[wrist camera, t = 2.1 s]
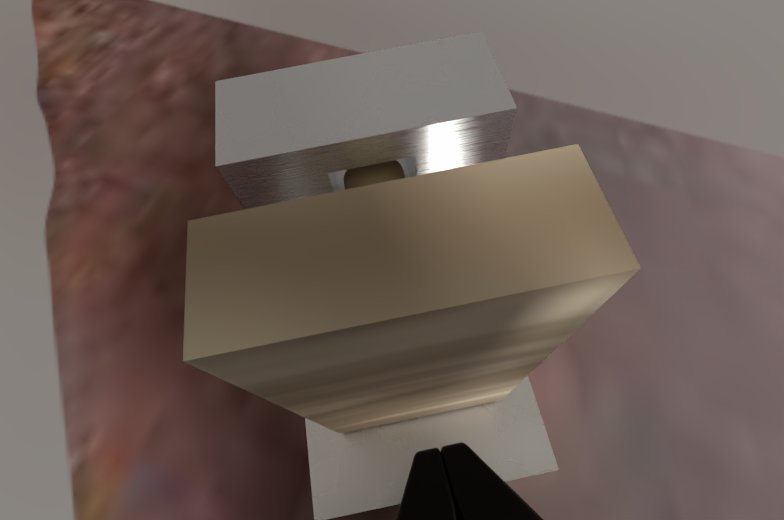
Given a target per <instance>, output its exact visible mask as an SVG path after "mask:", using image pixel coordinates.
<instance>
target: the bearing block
mask: <svg viewBox="0 0 784 520" xmlns="http://www.w3.org/2000/svg"><path fill="white" fill-rule="evenodd" d="M516 110H517V107H516V105H515V103H514V100H513V98H512V96H511V94H510V91H509V89H508V87H507V85H506V82H505V80H504V78H503V75H502V73H501V71H500V69H499V66H498V64H497V62H496V60H495V57H494V55H493V53H492V51H491V49H490V46H489V44H488V42H487V40H486V37H485V35H484V33H483V31H480V32H474V33H469V34H464V35H458V36H453V37H448V38H442V39H437V40H432V41H427V42H421V43H416V44H411V45H406V46H400V47H395V48H390V49H384V50H379V51H374V52H368V53H363V54H358V55H352V56H347V57H342V58H337V59H331V60H326V61H321V62H315V63H310V64H305V65H300V66H294V67H289V68H284V69H278V70H273V71H268V72H262V73H257V74H252V75H247V76H241V77H236V78H231V79H225V80H220V81H215V167H216V168H217V169H218V171H219V172H220V174H221V175H222V177H223V178H224V180H225V181H226V183H227V184H228V186H229V187H230V188H231V190H232V191H233V193H234V194H235V196H236V197H237V199H238V200H239V202H240V203H241V205H242V206H243V208H244V209H250V208H255V207H260V206H265V205H270V204H275V203H280V202H285V201H290V200H295V199H301V198H306V197H311V196H316V195H321V194H326V193H331V192H336V191H341V190H345V187H344V181H343V179H344V174H345V172H346V171H347V169H353V168H358V167H363V166H368V165H373V164H378V163H383V162H388V161H394V160H396V161H398V162H399V163H400V164H401V166H402V168H403V171H404V175H405V178H408V177H413V176H418V175H423V174H428V173H433V172H438V171H443V170H448V169H453V168H459V167H464V166H469V165H474V164H479V163H484V162H489V161H494V160H499V159H504V157H505V153H506V149H507V145H508V142H509V138H510V134H511V130H512V126H513V122H514V118H515V114H516ZM305 423H306V434H307V446H308V457H309V468H310V479H311V490H312V501H313V512H314V520H327V519H332V518H336V517H341V516H346V515H350V514H355V513H360V512H364V511H369V510H374V509H378V508H383V507H388V506H392V505H397V504H401V500H402V497H403V493H404V490H405V486H406V483H407V479H408V476H409V472H410V469H411V465H412V462H413V458H414V456H415V454H416V453H417V452H418V451H422V450H427V449H432V448H438V449H439V450H440V452H441V448H442V447H443V446H446V445H451V444H455V443H460V442H463V443H465V444H466V445H468V446H469V447H470V448H471V449H472V450H473V451H474V452H475V453H476V454H477V455H478V456H479V457H480V458H481V459H482V460H483V461H484V462H485V463H486V464H487V465H488V466H489V467H490V468H491V469H492V470H493V471H494V472H495V473H496V474H497V475H498V476H499V477H500V478H501V479H502V480H503V481H504V482H505V481H509V480H514V479H519V478H523V477H528V476H533V475H537V474H542V473H547V472H551V471H556V470H559V469H558V466H557V463H556V460H555V457H554V454H553V451H552V448H551V444H550V441H549V438H548V435H547V432H546V429H545V426H544V423H543V420H542V417H541V414H540V411H539V408H538V405H537V402H536V399H535V396H534V393H533V390H532V387H531V384H530V381H529V378H528V376H527V377H525V378H524V379H523V380H522V381H521V382H520V383H519V384H518V385H517V386H516V387H515V388H514V389H513V390H512V391H511V392H510V393H509V394H508V395H506V396H505V397H504V398H503V399H502V400H498V401H493V402H488V403H483V404H479V405H474V406H469V407H464V408H460V409H455V410H450V411H445V412H440V413H436V414H431V415H426V416H421V417H417V418H412V419H407V420H402V421H397V422H393V423H388V424H383V425H378V426H374V427H369V428H364V429H359V430H354V431H350V432H345V433H340V434H339V433H337V432H335V431H333V430H331V429H328V428H326V427H324V426H322V425H320V424H318V423H315V422H313V421H311V420H309V419H307V418H305Z"/></svg>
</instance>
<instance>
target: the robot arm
mask: <svg viewBox="0 0 784 520" xmlns="http://www.w3.org/2000/svg"><path fill="white" fill-rule="evenodd" d="M396 520H543V519H542V518H541V517H540V516H539V515H538V514H537V513H536V512H535V511H534V510H533V509H532V508H531V507H530V506H529V505H528V504H527V503H526V502H525V501H524V500H523V499H522V498H521V497H520V496H519V495H518V494H517V493H516V492H515V491H514V490H513V489H512V488H511V487H510V486H509V485H507V484H506V483H505V482H504V481H503V480H502V479H501V478H500V477H499V476H498V475H497V474H496V473H495V472H494V471H493V470H492V469H491V468H490V467H489V466H488V465H487V464H486V463H485V462H484V461H483V460H482V459H481V458H480V457H479V456H478V455H477V454H476V453H475V452H474V451H473V450H472V449H471V448H470V447H469V446H468V445H466V444H465V443H463V442H460V443H455V444H451V445H446V446H443V447H442V448H441V452H440V450H439V449H438V448H432V449H427V450H422V451H418V452H417V453H416V454H415V456H414V458H413V462H412V465H411V469H410V472H409V476H408V479H407V483H406V486H405V490H404V493H403V497H402V500H401V504H400V507H399V511H398V514H397V518H396Z"/></svg>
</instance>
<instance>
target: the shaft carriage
mask: <svg viewBox="0 0 784 520" xmlns="http://www.w3.org/2000/svg"><path fill="white" fill-rule="evenodd" d="M343 181H344V187H345V190H341V191H336V192H331V193H326V194H321V195H316V196H311V197H306V198H301V199H295V200H290V201H285V202H280V203H275V204H270V205H265V206H260V207H255V208H250V209H244V210H239V211H234V212H229V213H224V214H219V215H214V216H209V217H204V218H199V219H193V220H188V229H187V258H186V286H185V315H184V344H183V362H185V363H187V364H190V365H192V366H194V367H196V368H198V369H200V370H203V371H205V372H207V373H209V374H211V375H213V376H216V377H218V378H220V379H222V380H224V381H226V382H229V383H231V384H233V385H235V386H237V387H239V388H242V389H244V390H246V391H248V392H250V393H252V394H255V395H257V396H259V397H261V398H263V399H265V400H268V401H270V402H272V403H274V404H276V405H278V406H281V407H283V408H285V409H287V410H289V411H291V412H294V413H296V414H298V415H300V416H302V417H304V418H307V419H309V420H311V421H313V422H315V423H318V424H320V425H322V426H324V427H326V428H328V429H331V430H333V431H335V432H337V433H339V434H340V433H345V432H350V431H354V430H359V429H364V428H369V427H374V426H378V425H383V424H388V423H393V422H397V421H402V420H407V419H412V418H417V417H421V416H426V415H431V414H436V413H440V412H445V411H450V410H455V409H460V408H464V407H469V406H474V405H479V404H483V403H488V402H493V401H498V400H502V399H503V398H504V397H505V396H506V395H508V394H509V393H510V392H511V391H512V390H513V389H514V388H515V387H516V386H517V385H518V384H519V383H520V382H521V381H522V380H523V379H524V378H525V377H527V376H528V375H529V374H530V373H531V372H532V371H533V370H534V369H535V368H536V367H537V366H538V365H539V364H540V363H541V362H542V361H543V360H544V359H546V358H547V357H548V356H549V355H550V354H551V353H552V352H553V351H554V350H555V349H556V348H557V347H558V346H559V345H560V344H561V343H562V342H563V341H565V340H566V339H567V338H568V337H569V336H570V335H571V334H572V333H573V332H574V331H575V330H576V329H577V328H578V327H579V326H580V325H581V324H582V323H584V322H585V321H586V320H587V319H588V318H589V317H590V316H591V315H592V314H593V313H594V312H595V311H596V310H597V309H598V308H599V307H600V306H601V305H603V304H604V303H605V302H606V301H607V300H608V299H609V298H610V297H611V296H612V295H613V294H614V293H615V292H616V291H617V290H618V289H619V288H620V287H622V286H623V285H624V284H625V283H626V282H627V281H628V280H629V279H630V278H631V277H632V276H633V275H634V274H635V273H636V272H637V271H638V270H639V269H641V267H640V265H639V263H638V261H637V260H636V258H635V256H634V254H633V252H632V250H631V248H630V246H629V244H628V242H627V240H626V238H625V236H624V234H623V232H622V230H621V228H620V226H619V224H618V222H617V220H616V218H615V216H614V214H613V212H612V210H611V208H610V206H609V204H608V202H607V200H606V198H605V196H604V194H603V192H602V190H601V188H600V186H599V184H598V183H597V181H596V179H595V177H594V175H593V173H592V171H591V169H590V167H589V165H588V163H587V161H586V159H585V157H584V155H583V153H582V151H581V149H580V147H579V145H578V144H576V145H571V146H566V147H561V148H555V149H550V150H545V151H540V152H535V153H530V154H525V155H520V156H515V157H510V158H504V159H499V160H494V161H489V162H484V163H479V164H474V165H469V166H464V167H459V168H453V169H448V170H443V171H438V172H433V173H428V174H423V175H418V176H413V177H408V178H405V175H404V171H403V168H402V166H401V164H400V163H399V162H398V161H396V160H394V161H388V162H383V163H378V164H373V165H368V166H363V167H358V168H353V169H347V171H346V172H345V174H344V179H343Z"/></svg>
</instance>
